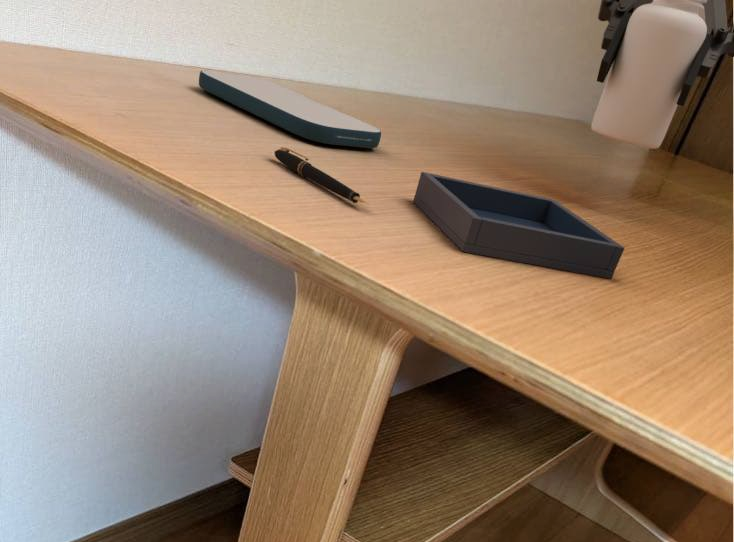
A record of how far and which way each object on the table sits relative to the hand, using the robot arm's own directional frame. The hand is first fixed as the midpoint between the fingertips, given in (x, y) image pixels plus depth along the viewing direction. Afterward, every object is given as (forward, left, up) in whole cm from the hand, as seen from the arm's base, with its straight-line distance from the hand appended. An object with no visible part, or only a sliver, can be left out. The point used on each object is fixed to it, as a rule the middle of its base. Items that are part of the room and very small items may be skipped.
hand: (642, 83), depth 84 cm
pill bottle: (-2, -3, -6) cm, 7 cm away
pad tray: (+19, +20, -13) cm, 31 cm away
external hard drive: (+33, -15, -13) cm, 39 cm away
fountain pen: (+35, +14, -13) cm, 40 cm away
